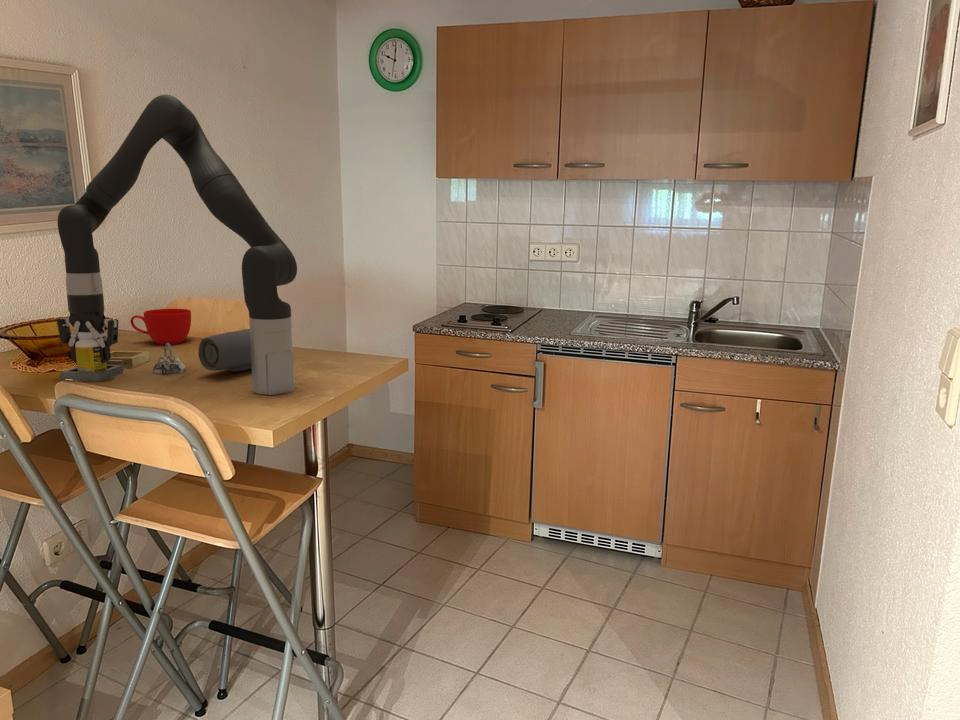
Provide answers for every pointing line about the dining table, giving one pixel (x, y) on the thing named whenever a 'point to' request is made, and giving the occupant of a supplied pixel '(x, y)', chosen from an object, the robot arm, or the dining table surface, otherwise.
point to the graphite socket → (92, 374)
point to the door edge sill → (115, 362)
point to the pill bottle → (88, 353)
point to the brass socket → (130, 357)
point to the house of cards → (169, 367)
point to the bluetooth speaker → (226, 351)
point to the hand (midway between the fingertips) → (91, 361)
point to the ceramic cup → (166, 325)
